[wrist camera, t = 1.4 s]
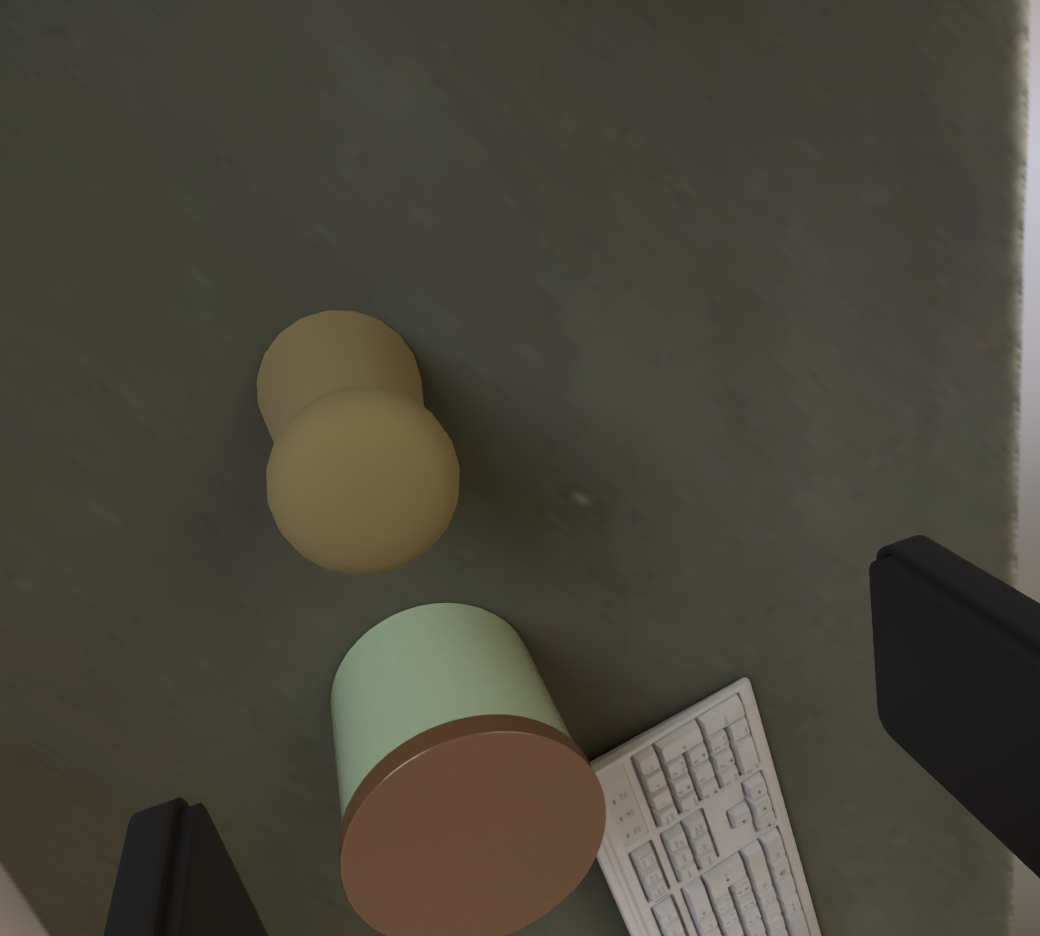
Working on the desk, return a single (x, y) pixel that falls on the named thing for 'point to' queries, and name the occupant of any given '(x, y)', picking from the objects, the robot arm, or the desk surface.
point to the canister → (456, 779)
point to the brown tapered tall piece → (353, 445)
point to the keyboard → (702, 827)
